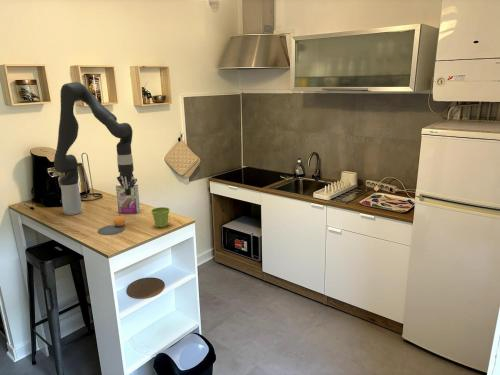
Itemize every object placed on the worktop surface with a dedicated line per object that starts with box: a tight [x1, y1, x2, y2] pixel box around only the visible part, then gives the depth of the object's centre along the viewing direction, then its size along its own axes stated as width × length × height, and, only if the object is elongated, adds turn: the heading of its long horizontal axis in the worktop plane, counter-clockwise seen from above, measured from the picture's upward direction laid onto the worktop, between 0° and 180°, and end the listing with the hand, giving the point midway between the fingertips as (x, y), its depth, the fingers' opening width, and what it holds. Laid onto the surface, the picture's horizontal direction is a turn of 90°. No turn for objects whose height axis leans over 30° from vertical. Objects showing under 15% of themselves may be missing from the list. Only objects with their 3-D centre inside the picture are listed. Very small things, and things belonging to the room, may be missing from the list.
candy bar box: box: [115, 183, 141, 215], centre depth 215 cm, size 11×5×16 cm, turn 84°
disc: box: [97, 224, 126, 236], centre depth 191 cm, size 13×13×1 cm
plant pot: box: [150, 206, 171, 228], centre depth 195 cm, size 9×9×9 cm
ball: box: [113, 215, 126, 227], centre depth 195 cm, size 6×6×6 cm
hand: (128, 195), depth 198 cm, fingers closed
